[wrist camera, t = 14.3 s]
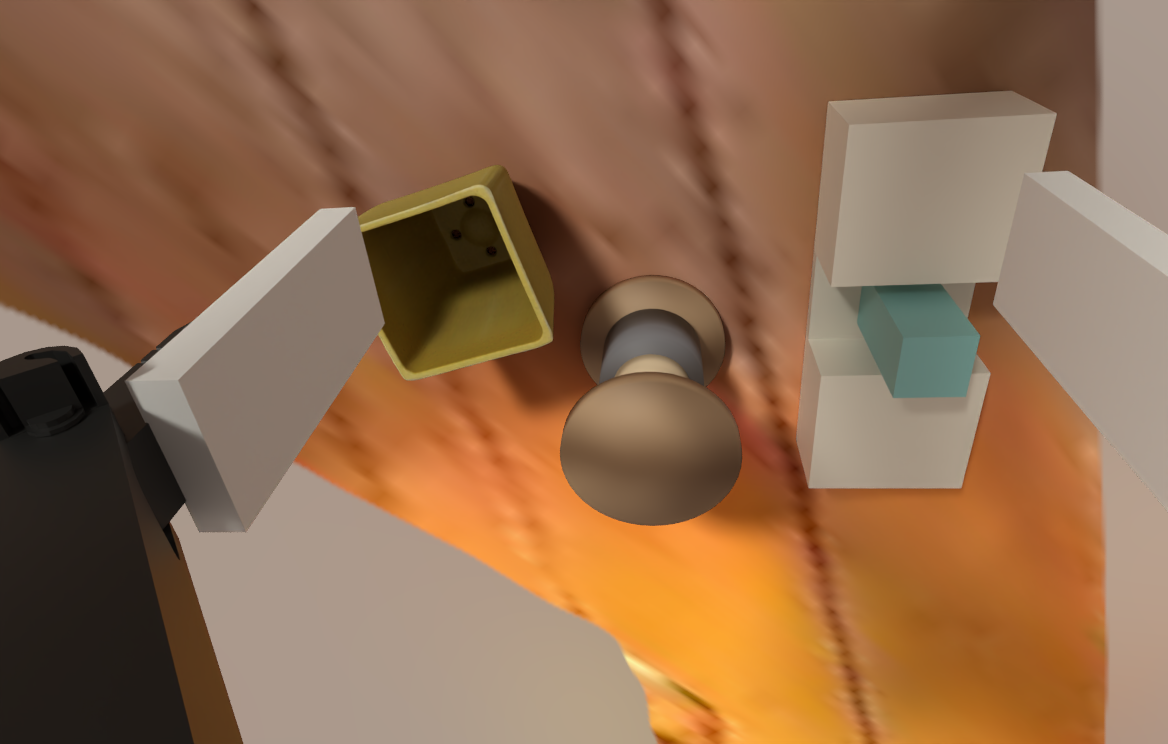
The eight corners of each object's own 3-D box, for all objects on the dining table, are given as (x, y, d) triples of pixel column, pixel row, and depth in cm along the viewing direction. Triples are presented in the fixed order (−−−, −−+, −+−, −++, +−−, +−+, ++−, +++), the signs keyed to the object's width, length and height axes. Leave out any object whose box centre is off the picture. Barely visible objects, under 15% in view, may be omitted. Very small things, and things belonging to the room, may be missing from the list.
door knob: (576, 277, 44) (551, 384, 34) (725, 272, 43) (745, 381, 33) (587, 399, 49) (568, 525, 39) (722, 397, 48) (738, 526, 38)
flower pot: (445, 308, 46) (403, 385, 39) (381, 180, 42) (320, 238, 35) (574, 270, 44) (556, 344, 37) (519, 131, 40) (486, 181, 33)
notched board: (828, 101, 38) (849, 124, 34) (1011, 90, 37) (1057, 113, 33) (795, 439, 49) (808, 488, 45) (935, 438, 48) (961, 488, 44)
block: (864, 269, 42) (903, 337, 35) (928, 266, 41) (980, 335, 35) (856, 323, 44) (893, 398, 37) (918, 321, 43) (965, 396, 36)
